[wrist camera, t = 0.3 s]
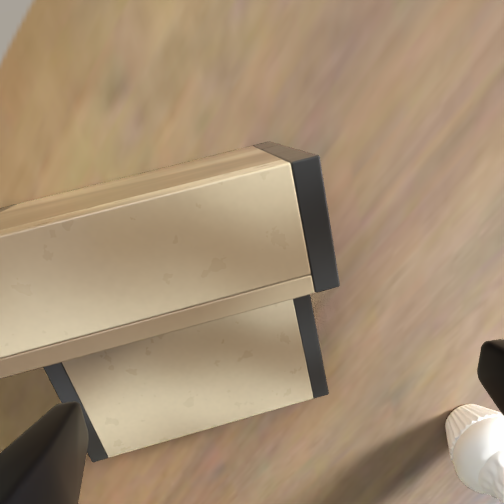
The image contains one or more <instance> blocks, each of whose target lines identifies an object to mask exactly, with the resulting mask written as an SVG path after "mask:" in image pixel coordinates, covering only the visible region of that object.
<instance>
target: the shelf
mask: <svg viewBox="0 0 504 504" xmlns="http://www.w3.org/2000/svg"><path fill="white" fill-rule="evenodd" d="M339 286H340V283H339V277H338V271H337V264H336V258H335V252H334V245H333V239H332V232H331V226H330V220H329V213H328V207H327V201H326V194H325V188H324V182H323V175H322V169H321V162H320V157H319V155H315V154H312V153H308V152H304V151H301V150H297V149H294V148H290V147H287V146H283V145H280V144H277V143H273V142H265V143H261V144H257V145H253V146H249V147H245V148H241V149H237V150H233V151H229V152H225V153H221V154H217V155H213V156H209V157H204V158H200V159H196V160H192V161H188V162H184V163H180V164H176V165H172V166H168V167H164V168H160V169H156V170H152V171H148V172H144V173H140V174H136V175H132V176H128V177H124V178H120V179H116V180H112V181H108V182H104V183H100V184H95V185H91V186H87V187H83V188H79V189H75V190H71V191H67V192H63V193H59V194H55V195H51V196H47V197H43V198H39V199H35V200H31V201H27V202H23V203H19V204H15V205H11V206H7V207H3V208H0V379H2V378H6V377H9V376H13V375H17V374H20V373H24V372H28V371H31V370H35V369H39V368H42V367H43V368H44V370H45V371H46V373H47V375H48V377H49V379H50V381H51V383H52V385H53V387H54V389H55V391H56V393H57V395H58V397H59V399H60V401H61V402H62V403H67V402H74V401H76V402H78V403H79V404H80V406H81V409H82V412H83V416H84V419H85V423H86V427H87V430H88V448H87V453H88V455H89V457H90V459H91V461H92V462H96V461H99V460H103V459H106V458H108V457H109V458H110V457H113V456H117V455H120V454H124V453H127V452H131V451H134V450H138V449H141V448H144V447H148V446H151V445H155V444H158V443H162V442H165V441H169V440H172V439H176V438H179V437H182V436H186V435H189V434H193V433H196V432H200V431H203V430H207V429H210V428H214V427H217V426H220V425H224V424H227V423H231V422H234V421H238V420H241V419H245V418H248V417H252V416H255V415H258V414H262V413H265V412H269V411H272V410H276V409H279V408H283V407H286V406H290V405H293V404H296V403H300V402H303V401H307V400H310V399H313V398H317V397H321V396H324V395H328V394H329V392H328V387H327V382H326V376H325V371H324V366H323V361H322V355H321V350H320V345H319V340H318V335H317V329H316V324H315V319H314V314H313V308H312V303H311V298H310V294H313V293H314V291H315V292H321V291H324V290H328V289H332V288H335V287H339Z"/></svg>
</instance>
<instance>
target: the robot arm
mask: <svg viewBox="0 0 504 504" xmlns="http://www.w3.org/2000/svg"><path fill="white" fill-rule="evenodd" d="M477 373H478V378H479V380H480V382H481V384H482V385H483V387H484V388H485V389H486V391H487V392H488V394H489V395H490V397H491V398H492V400H493V401H494V403H495V404H496V405H497V407H498V408H499V410H500V411H501V413H502V414H503V416H504V340H502V339H499V340H492V341H486V342H484V343H483V345H482V347H481V352H480V358H479V363H478V369H477ZM87 448H88V430H87V427H86V423H85V419H84V416H83V412H82V409H81V406H80V404H79V403H78V402H76V401H74V402H67V403H60V404H57V405H55V406H54V407H53V408H52V409H50V410H49V411H48V412H47V413H46V414H45V415H44V416H42V417H41V418H40V419H39V420H38V421H37V422H36V423H34V424H33V425H32V426H31V427H30V428H29V429H28V430H26V431H25V432H24V433H23V434H22V435H21V436H19V437H18V438H17V439H16V440H15V441H14V442H13V443H11V444H10V445H9V446H8V447H7V448H6V449H5V450H3V451H2V452H1V453H0V504H78V500H79V494H80V488H81V482H82V477H83V471H84V465H85V459H86V454H87Z"/></svg>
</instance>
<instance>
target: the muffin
mask: <svg viewBox="0 0 504 504" xmlns="http://www.w3.org/2000/svg"><path fill="white" fill-rule="evenodd" d="M445 429H446V435H447V441H448V447H449V453H450V458H451V460H452V462H453V464H454V468H455V471H456V474H457V476H458V477H459V479H460V480H461V481H462V482H463V483H464V484H465V485H466V486H467V487H468V488H470V489H472V490H474V491H476V492H478V493H481V494H488V495H491V496H493V497H495V498H498V499H499V500H500V501H501V502H502V503H503V504H504V416H503V414H502V413H500V412H497V411H494V410H491V409H488V408H484V407H481V406H478V405H475V404H467V405H463V406H460V407H458V408H456V409H455V410H453V412H451V413H450V415H449V416H448V418H447V419H446V423H445Z"/></svg>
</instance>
